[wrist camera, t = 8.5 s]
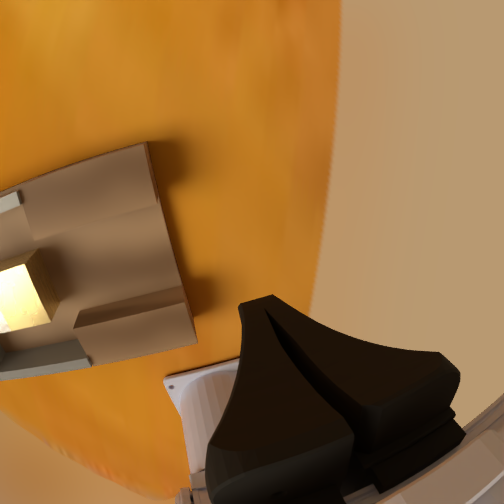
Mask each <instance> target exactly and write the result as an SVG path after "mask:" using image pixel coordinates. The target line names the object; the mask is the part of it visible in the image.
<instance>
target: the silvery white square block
mask: <svg viewBox="0 0 504 504" xmlns="http://www.w3.org/2000/svg"><path fill="white" fill-rule="evenodd" d="M10 331H11V330H10V328H9V326H8V324H7V322H6V320H5V319H4V317H3V315H2V313H1V311H0V333H5V332H10Z"/></svg>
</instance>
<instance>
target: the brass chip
mask: <svg viewBox="0 0 504 504" xmlns="http://www.w3.org/2000/svg"><path fill="white" fill-rule="evenodd" d="M60 302H61V301H60V299H59V297H58V295H57V292H56V290H55V288H54V286H53V283H52V281H51V279H50V276H49V274H48V271H47V269H46V266H45V264H44V261H43V259H42V256H41V254H40V251H39V248H37V249H34V250H31V251H28V252H25V253H22V254H19V255H16V256H13V257H10V258H8V259H5V260H2V261H0V311H1V313H2V315H3V317H4V319H5V320H6V322H7V324H8V326H9V328H10V330H11V331H14V330H19V329H23V328H28V327H32V326H37V325H41V324H46V323H50V322H51V321H52V319H53V317H54V315H55V313H56V311H57V308H58V306H59V304H60Z"/></svg>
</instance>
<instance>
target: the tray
mask: <svg viewBox="0 0 504 504" xmlns="http://www.w3.org/2000/svg"><path fill="white" fill-rule="evenodd" d="M21 204H22V201H21V198H20V194H19V191H18V189H17V190H14V191H12V192H10V193H7V194H5V195H3V196H0V213H2V212H5V211H7V210H10V209H12V208H15V207H17V206H20V205H21ZM89 367H92V363H91V361H90V360H89V358H88V356H87V354H86V353H85V351H84V349H83V347H82V346H81V344H80V342H79V340H78V339H75V340H70V341H65V342H60V343H55V344H50V345H45V346H40V347H35V348H30V349H24V350H19V351H14V352H8V353H5V351H4V349H3V348H2V346H1V344H0V381H3V380H11V379H19V378H27V377H34V376H41V375H47V374H54V373H60V372H66V371H72V370H78V369H83V368H89Z"/></svg>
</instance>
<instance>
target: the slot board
mask: <svg viewBox="0 0 504 504" xmlns="http://www.w3.org/2000/svg"><path fill="white" fill-rule="evenodd" d="M17 189H18V191H19V194H20V198H21V201H22V204H21V205H20V206H17V207H15V208H12V209H10V210H7V211H5V212H2V213H0V261H2V260H5V259H8V258H10V257H13V256H16V255H19V254H22V253H25V252H28V251H31V250H34V249H37V248H39V251H40V254H41V256H42V259H43V261H44V264H45V266H46V269H47V271H48V274H49V276H50V279H51V281H52V283H53V286H54V288H55V290H56V292H57V295H58V297H59V299H60V301H61V302H60V304H59V306H58V308H57V311H56V313H55V315H54V317H53V319H52V321H51V322H50V323H46V324H41V325H37V326H32V327H28V328H23V329H19V330H14V331H10V332H5V333H0V344H1V346H2V348H3V349H4V351H5V353H8V352H14V351H19V350H24V349H30V348H35V347H40V346H45V345H50V344H55V343H60V342H65V341H70V340H75V339H78V340H79V342H80V344H81V346H82V347H83V349H84V351H85V353H86V354H87V356H88V358H89V360H90V361H91V363H92V365H93V366H97V365H103V364H108V363H113V362H118V361H123V360H127V359H132V358H137V357H141V356H146V355H150V354H155V353H159V352H163V351H168V350H172V349H176V348H180V347H184V346H188V345H192V344H196V343H198V341H197V336H196V331H195V326H194V320H193V316H192V313H191V310H190V306H189V303H188V300H187V297H186V293H185V290H184V287H183V283H182V280H181V276H180V273H179V269H178V266H177V262H176V259H175V255H174V251H173V248H172V244H171V240H170V237H169V233H168V229H167V225H166V221H165V217H164V213H163V209H162V205H161V201H160V197H159V193H158V189H157V184H156V180H155V176H154V171H153V167H152V162H151V158H150V153H149V148H148V143H147V142H143V143H139V144H135V145H132V146H128V147H124V148H121V149H117V150H114V151H111V152H107V153H104V154H101V155H98V156H94V157H91V158H88V159H85V160H82V161H79V162H76V163H73V164H70V165H67V166H65V167H62V168H59V169H56V170H54V171H51V172H48V173H46V174H43V175H40V176H38V177H35V178H33V179H30V180H28V181H25V182H23V183H20V184H18V185H16V186H13V187H11V188H9V189H6V190H4V191H2V192H0V196H3V195H5V194H7V193H10V192H12V191H14V190H17Z"/></svg>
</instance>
